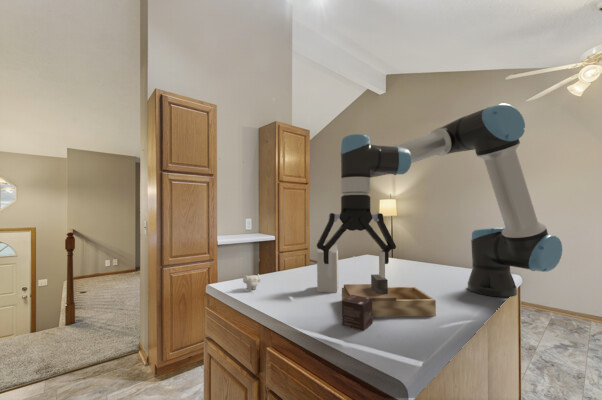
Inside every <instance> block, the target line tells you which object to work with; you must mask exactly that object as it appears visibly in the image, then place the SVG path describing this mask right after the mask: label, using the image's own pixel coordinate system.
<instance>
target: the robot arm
mask: <svg viewBox="0 0 602 400" xmlns="http://www.w3.org/2000/svg"><path fill="white" fill-rule="evenodd" d="M525 128H526V123H525V119H524V117H523V115H522V114H521V112H520V111H519V109H517V108H516V107H514V106H513V105H511V104H508V103H498V104H495V105H491V106H487V107H486V108H483V109H480V110H478V111H475V112H473V113H469V114H467V115H464V116H462V117H459V118H457V119H455V120H453V121H451V122H449V123H447V124H445V125H442V126H441V127H437V128H435V129H433V130H432V131H431V132H430V133H428V134H426V135H422V136H419V137H416V138H412V139H409V140H405V141H403V142H401V143H397V144H393V145H375V144H371V138H370V136H369V135H366V134H364V133H355V134H354V133H352V134H349V135H345V136H344V137H343V138H342V140H341V145H340V162H341V163H340V168H341V169H340V172H341V174H340V176H341V177H340V178H341V180H340V189H341V190H340V192H341V197H340V214H338V213H334V212H331V213H329V214H328V222H327V224H326V225H325V227H324V229H323V231H322V234H321V236H320V237H319V241H318V242H317V243H316V248H317V249H321V250H323V252H324V263H325V264H328V277H329V278H332V252H331V251H329V249H330V248H331V247H332V246H333V245H334V244H335V242H336V241H337V242H338V240H339V239H340V238H341V237H342V235H343V234H344V233H345V232H346V231H347V230H348V231H364V230H365V232H366V233H367V234H368V235H369V236H370V237H371V238H372V239H373V241H374V242H375V243H376V244H377V245H378V247H379V248H380V249H381V250H378V275H379V276H380V277H382V278H386V265H388V264H389V263H390V262H389V259H390V257H389V253H390V251H391V250H392V251H393V250H395V249H396V248H397V245H396V243H395V242H394V240H393V238H392V235H391V233H390V231H389V229H388V227H387V226H386V223H385V221H384V214H383V213H379V212H376V213H375V214H373V213H372V211H371V196H370V195H369V194H370V193H371V178H377V177H382V176H386V175H394V176H397V175H404V174H407V172H408V171H409V170H410V168H411V166H412V164H414V163H417V162H420V161H422V160H425V159H427V158H431V157H433V156H434V157H435V156H439V157H442V156H446V155H449V154H454V153H460V152H467V151H468V152H469V151H473V150H474V151H475V154H476V157H478V158H480V159H481V160H484V165H485V167H486V170H487V173H488V174H487V175H488V176H489V180H490V183H491V186H492V190H493V192H494V195H495V198H496V202H497V205H498V208H499V212H500V215H501V217H502V220H503V224H504V227H495V228H494V227H493V228H492V227H491V228H479V229H474V230H473V231H472V232H471V239H470V241H471V243H470V244H471V261H472V262H471V263H472V264H471V265H472V269H471V273H470V274H469V278H468V281H467V289H468V291H471V292H473V293H476V294H479V295H484V296H489V297H500V298H502V297H503V298H509V297H515V296H517V295H518V288H517V286H516V283H515V280H514V277H513V275H512V273H511V267H514V268H517V269H523V270H530V271H531V272H542V273H546V272H550V271H552V270H554V269H555V268H556V267H557V266H558V265H559V263H560V260H561V258H562V254H563V245H562V241H561V239H560V238H559V237H558V236H557V235H554V234H551V233H550V234H549V233H548V229H547V226H546V225H545V224H543V223H541V222H540V221H538V217H537V215H536V211H535V209H534V208H535V207H534V205H533V201H532V199H531V194H530V193H529V189H528V184H527V182H526V180H525V175H524V173H523V170H522V166H521V164H520V163H521V162H520V160H519V157H518V153H517V149H518V148H519V146H520V144H521V141H520V139H521V138H522V137H523V135H524V133H525ZM342 194H343V195H342ZM338 219H339V220H340V221H341V223H342V224H341V225H340V226H339V227H338V229H337V231H336V232H334V234H333V235H332V236H331V238H330V239H329V241H328V242H327V244H326V245H323V244H324V242H325V240H326V239H327V238H328V236H329V234H330V232H331V230H332V228H333V225H334V223H336V222H337V221H338ZM372 220H373V221H374V222H376V224H377V227H378V228H379V231H380V232H381V234H382V236H383V238H384V240H385V242H386V243H385V242H384V240H382V238H381V237H380V236H379V235H378V234H377V232H376V231H375V230H374V228H373V227H372V225H370V223H371V221H372Z"/></svg>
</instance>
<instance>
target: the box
mask: <svg viewBox="0 0 602 400" xmlns="http://www.w3.org/2000/svg"><path fill="white" fill-rule="evenodd" d="M372 325H373V316H372V298H368V297H362V296H356V295H351V296H349V297H347V298H345V299H343V300H342V299H341V326H343V327H345V328H349V329H353V330H358V331H361V332H365V331H366V330H368V328H369V327H371V326H372Z"/></svg>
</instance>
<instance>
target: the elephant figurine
mask: <svg viewBox="0 0 602 400" xmlns="http://www.w3.org/2000/svg"><path fill="white" fill-rule="evenodd" d="M242 282H243V283H244V284H246V289H247V290H248V291H252V290H253V291H254V290H257V287H258V283H260V282H261V276H260V274H259V273H257V275H256V274H254V275H253V274H252V275H247V274H245V275H243V278H242Z"/></svg>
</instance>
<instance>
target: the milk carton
mask: <svg viewBox="0 0 602 400" xmlns="http://www.w3.org/2000/svg"><path fill="white" fill-rule="evenodd" d="M329 240H330V239H329ZM329 240H328V239H327V240H325V242H324V244H323V245H326V244H327V242H328V241H329ZM318 241H319V240H318ZM329 251H331V252H332V278H329V277H328V264H325V263H324V252H323V250H321V249H318V248H317V249H316V273H317V274H316V279H317V280H316V283H317V288H316V289H317V292H318V293H338V291H339V247H338V240H337V241H336V242H335V244H334V245H333V246H332V247H331V248H330V249H329Z"/></svg>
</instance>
